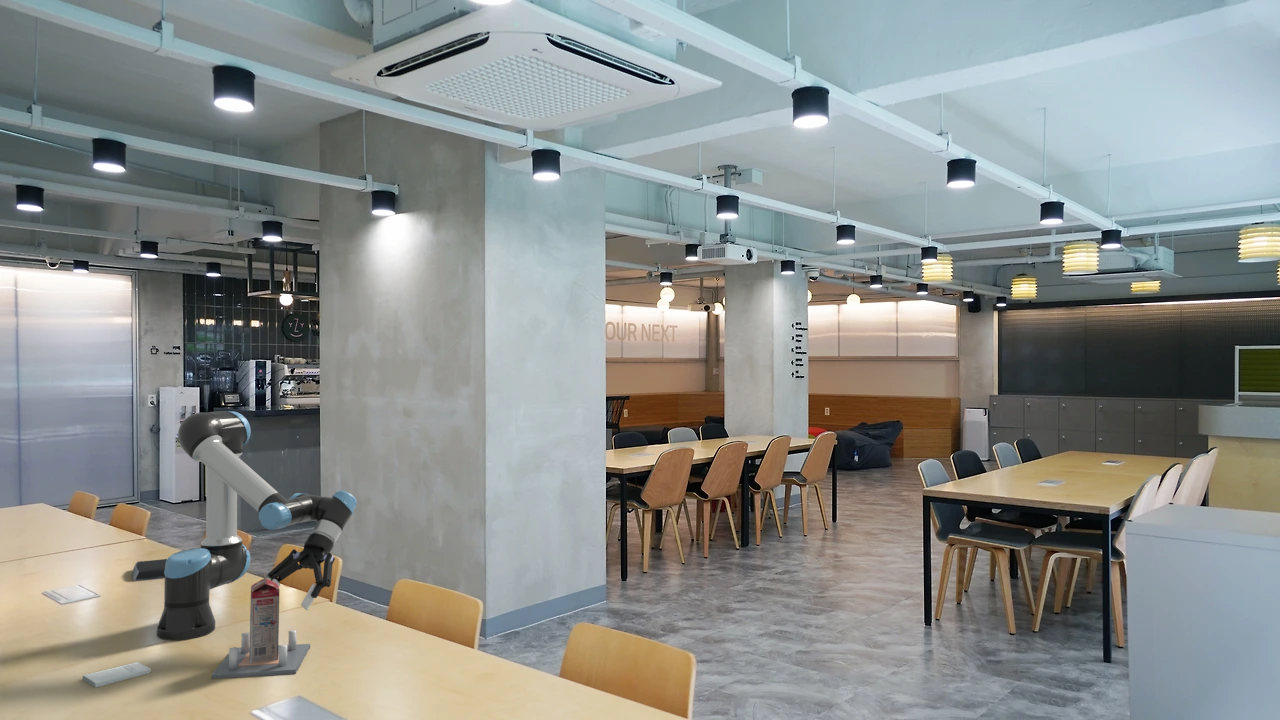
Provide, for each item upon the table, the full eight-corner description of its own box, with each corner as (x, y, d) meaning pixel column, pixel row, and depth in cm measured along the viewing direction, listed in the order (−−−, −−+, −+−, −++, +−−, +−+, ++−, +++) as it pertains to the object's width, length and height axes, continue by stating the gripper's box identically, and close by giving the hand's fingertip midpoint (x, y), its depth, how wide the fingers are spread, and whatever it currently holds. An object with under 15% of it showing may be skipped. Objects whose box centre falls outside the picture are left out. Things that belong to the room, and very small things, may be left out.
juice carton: (250, 663, 210) (252, 579, 211) (249, 655, 216) (251, 573, 217) (277, 659, 214) (279, 576, 214) (276, 651, 219) (278, 571, 220)
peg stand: (211, 678, 203) (211, 654, 203) (233, 651, 222) (233, 629, 223) (295, 673, 207) (296, 650, 207) (310, 647, 227) (310, 625, 227)
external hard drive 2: (82, 681, 201) (137, 667, 211) (95, 689, 196) (150, 674, 206) (82, 674, 201) (137, 660, 211) (95, 682, 196) (150, 668, 206)
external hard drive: (131, 583, 292) (131, 571, 292) (132, 571, 309) (132, 560, 309) (173, 578, 299) (173, 567, 299) (171, 567, 315) (171, 556, 316)
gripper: (363, 549, 234) (327, 616, 220) (294, 542, 242) (255, 606, 228) (352, 535, 229) (314, 602, 215) (281, 528, 237) (240, 593, 223)
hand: (284, 605), depth 221 cm, fingers open, 13 cm apart
